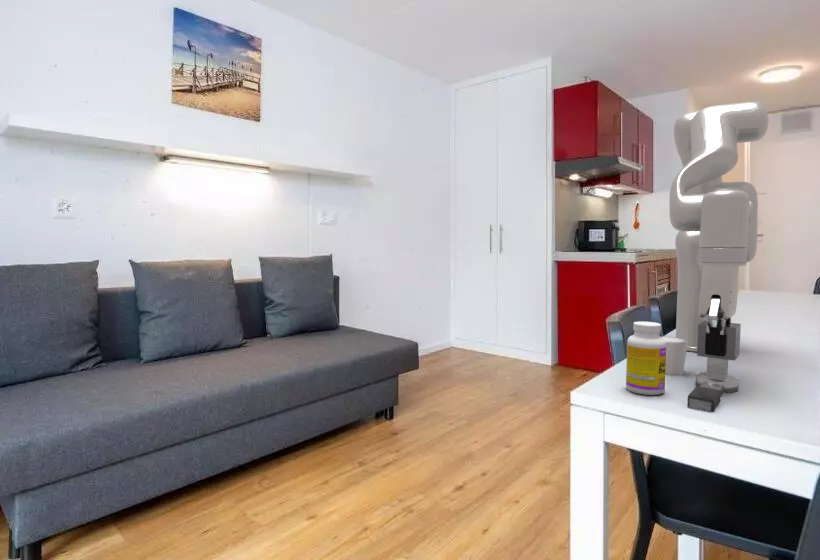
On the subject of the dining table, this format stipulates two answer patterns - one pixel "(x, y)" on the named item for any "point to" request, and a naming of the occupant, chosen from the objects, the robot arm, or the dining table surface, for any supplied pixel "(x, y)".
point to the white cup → (675, 355)
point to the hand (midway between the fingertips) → (718, 351)
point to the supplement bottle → (646, 359)
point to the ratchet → (712, 386)
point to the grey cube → (731, 341)
